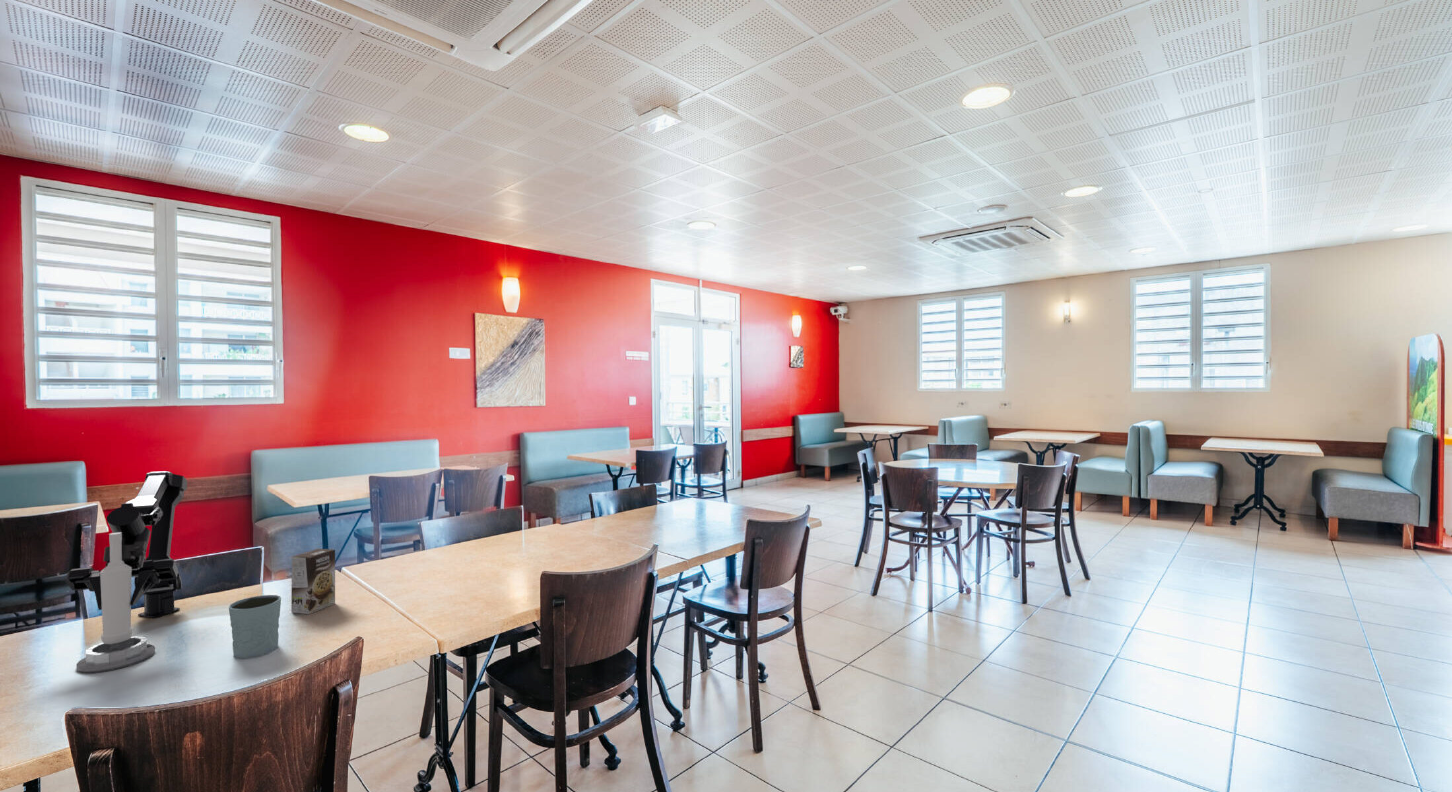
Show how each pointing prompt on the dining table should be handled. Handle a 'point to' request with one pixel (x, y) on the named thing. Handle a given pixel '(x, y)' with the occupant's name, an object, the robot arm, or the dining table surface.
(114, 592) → the bottle
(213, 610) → the dining table surface
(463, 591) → the dining table surface
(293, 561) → the coffee box
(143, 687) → the dining table surface
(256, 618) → the grey-green cup
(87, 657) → the grey ring
